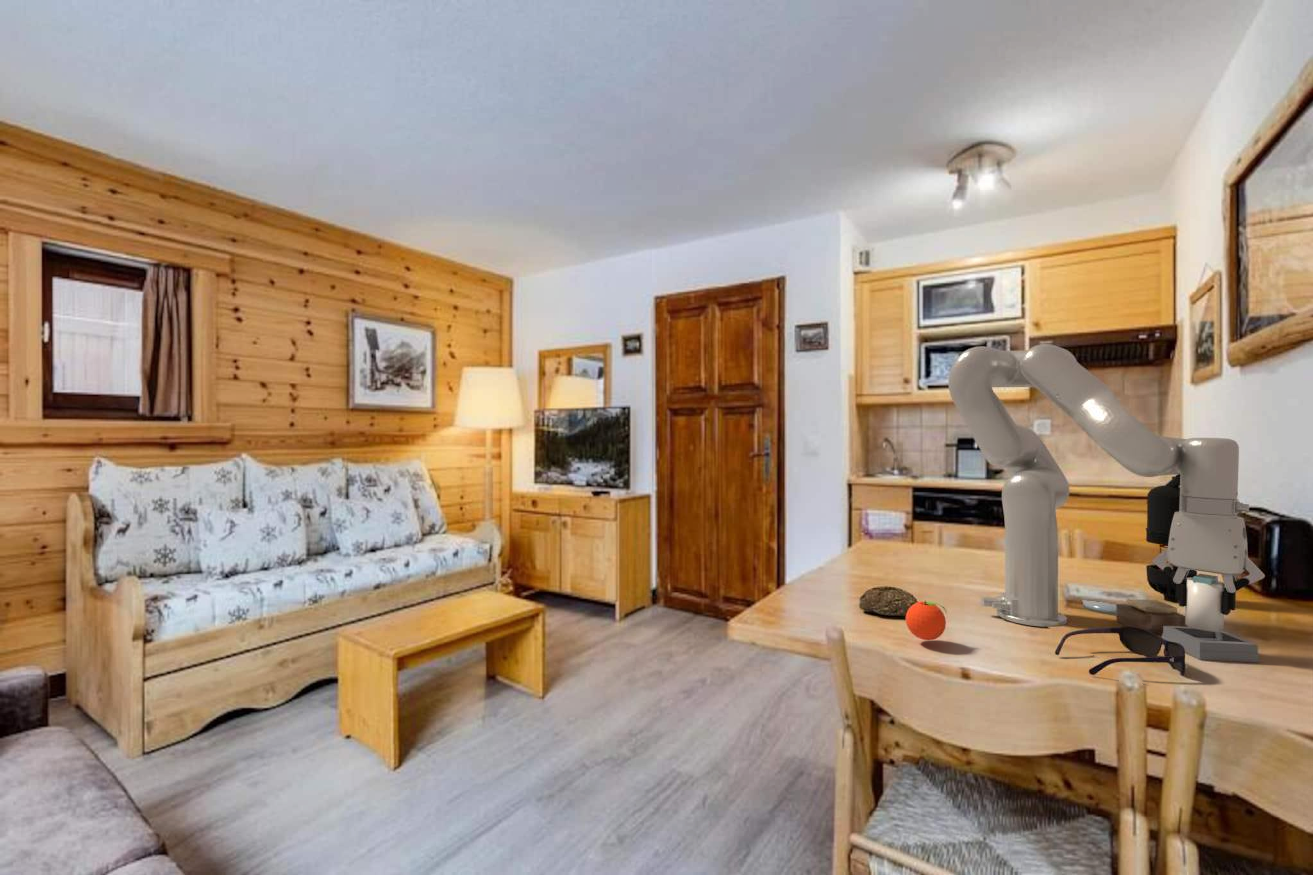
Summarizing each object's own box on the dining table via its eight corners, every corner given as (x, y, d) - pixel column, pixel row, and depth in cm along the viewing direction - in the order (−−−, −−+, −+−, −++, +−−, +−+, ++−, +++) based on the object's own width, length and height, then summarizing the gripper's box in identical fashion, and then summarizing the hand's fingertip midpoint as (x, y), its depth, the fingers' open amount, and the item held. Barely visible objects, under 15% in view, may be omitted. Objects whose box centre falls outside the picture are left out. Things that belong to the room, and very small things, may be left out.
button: (1145, 623, 116) (1145, 606, 116) (1126, 615, 121) (1126, 599, 121) (1177, 625, 115) (1177, 608, 115) (1156, 616, 121) (1156, 600, 121)
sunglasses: (1202, 681, 93) (1202, 649, 93) (1103, 682, 93) (1103, 650, 93) (1131, 650, 107) (1131, 622, 107) (1045, 650, 107) (1045, 623, 107)
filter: (1210, 609, 131) (1210, 473, 131) (1161, 606, 133) (1161, 473, 133) (1173, 593, 144) (1173, 470, 144) (1129, 591, 146) (1129, 469, 146)
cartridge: (1219, 633, 102) (1221, 581, 102) (1181, 625, 106) (1183, 575, 106) (1226, 628, 105) (1228, 577, 105) (1189, 620, 109) (1190, 571, 109)
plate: (1099, 614, 127) (1099, 609, 127) (1073, 601, 137) (1073, 596, 137) (1150, 616, 126) (1150, 611, 126) (1120, 603, 136) (1120, 598, 136)
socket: (1199, 659, 101) (1199, 642, 101) (1162, 641, 110) (1162, 625, 110) (1258, 662, 100) (1259, 644, 100) (1216, 643, 109) (1216, 627, 109)
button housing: (1142, 633, 115) (1142, 615, 115) (1116, 620, 123) (1116, 603, 123) (1188, 635, 114) (1188, 617, 114) (1159, 622, 122) (1159, 605, 122)
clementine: (935, 631, 116) (935, 595, 116) (959, 644, 109) (959, 605, 109) (898, 634, 115) (898, 597, 115) (919, 646, 108) (920, 607, 108)
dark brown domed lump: (911, 602, 138) (911, 580, 138) (926, 618, 125) (926, 594, 125) (854, 599, 140) (854, 578, 140) (862, 615, 128) (862, 592, 128)
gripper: (1280, 511, 101) (1276, 618, 101) (1152, 500, 114) (1149, 594, 115) (1272, 515, 96) (1269, 626, 97) (1141, 503, 110) (1138, 601, 110)
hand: (1204, 608), depth 106 cm, fingers closed on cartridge, 5 cm apart
